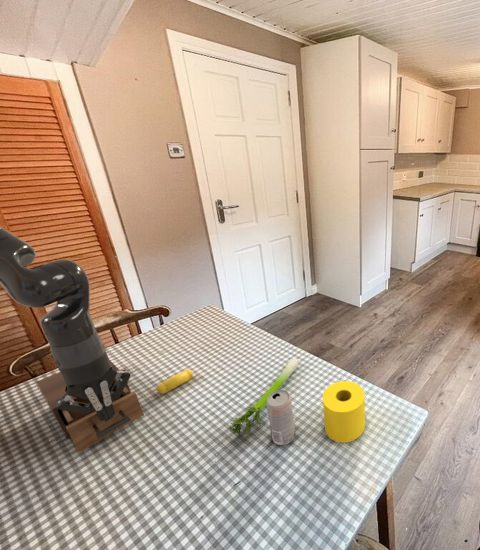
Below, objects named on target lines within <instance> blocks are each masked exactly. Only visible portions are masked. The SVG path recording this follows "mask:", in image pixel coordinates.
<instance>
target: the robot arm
mask: <svg viewBox="0 0 480 550" xmlns="http://www.w3.org/2000/svg"><path fill="white" fill-rule="evenodd" d="M36 256H37V252H36V250H35V248H34V247H33V246H31V245H30V244H29V243H28V242H26V241H25V240H23V239H21V238H20V237H18V236H17V235H15V234H14V233H12V232H10V231H9V230H7V229H5V228H4V227H2V226H1V225H0V286H1V287H2V288H3V289H4V291H5V292H6V293H7V294H8V295H9V298H11V299H12V300H13V301H15V302H16V303H17V304H19V305H22V306H24V307H29V308H35V309H38V308H39V309H40V308H45V307H47V306H50V305H52V304H54V303H55V306H54V307H53V308H52V309H51V310H49V312H47V313H46V314H45V315H43V316H42V317H41V318H40V327H41V329H42V332H43V334H44V337H45V338H46V340H47V342H48V344H49V347H50V351H51V355H52V358H53V360H54V363H55V365H56V366H57V368H58V370H59V373H61V375H62V377H63V379H64V381H65V383H66V388H65V392H66V394H65V395H64V396H63V397H62V398H61V399H58V400H56V402H55V403H56V405H57V407H58V408H59V409H60V410H66V411H71V412H77V413H82V414H88V413H90V412H91V411H96V414H97V416H98V418H99V419H100V420H101V421H103V420H105V422H106V421H108V420H109V419H112V418H113V415H114V414H115V410H114V407H113V405H112V402H113V401H114V400H115V399H118V398H119V397H120V396H121V394H122V392H123V390H124V388H125V386H126V384H127V383H128V382H129V380H130V378H131V375H132V374H131V373H130V372H129V371H128V370H127V369H121V370H120V371H117V370H116V369H115V368H113V367H112V366H111V363H110V361H111V360H110V358H109V355H108V353H107V350H106V346H105V344H104V342H103V339H102V338H101V336H100V335H99V333H98V332H97V329H96V326H95V324H94V321H93V319H92V316H91V314H90V313H91V312H90V309H91V308H90V305H91V303H90V301H91V300H90V295H91V294H90V279H89V276H88V274H87V272H86V271H85V269H84V268H83V267H82V266H81V265H80V264H79V263H77V262H75V261H74V260H71V259H65V258H61V259H56V260H52V261H49V262H45V263H42V264H40V265H36V266H33V267H29V266H30V265H31V264H32V263H33V262H34V261H35V259H36ZM28 267H29V268H28ZM109 360H110V361H109ZM115 377H116V382H115V384H114V386H113V388H112V390H111V392H109V389H110V387H111V386H112V384H113V381H114V379H115ZM98 395H100V397H101V401H102V402H103V403H102V404H101V403H100V402H99V400H98V398H97V396H98ZM71 397H76V398H80V399H84V400H87V399H89V401H90V403H89V404H86V403H81V402H76V401H74V400H73V398H71Z"/></svg>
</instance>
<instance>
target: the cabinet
mask: <svg viewBox="0 0 480 550" xmlns="http://www.w3.org/2000/svg"><path fill="white" fill-rule="evenodd" d="M109 361H110V363H111V366H112V367H113V368H115V369H116V370H117V371H121V370H120V368H118V367H117V366H116V364H115V363H114V362H113V361H111V359H109ZM115 382H116V377H115V379H114V381H113V383H115ZM36 384H37V386H38V388H39V390H40V392H41V394H42V396H43V397H44V399H45V402H46V404H47V405H48V407H49V409H50V411H51V413H52V414H53V417H54V418H55V420H56V422H57V423H58V426H59V427H60V429H61V431H62V433H63V435H64V436H65V439H68V438H71V436H70V435H69V433H68V431H67V429H66V426H68V424H67V422H66V420H65V418H64V416H63V414H62V412H61V410H60V409H59V408H58V407H57V405H56V403H55V402H56V400H58V399H61V398H62V397H63V396H64V395H65V394H66V392H65V388H66V383H65V381H64V379H63V377H62V375H61V373H60V372H58V373H54V374H53V375H50V376H48V377H45V378H43V379H40V380H39V381H36ZM125 387H126V388H127V390H128V391H129V392H130V393H132V391H131V387H130V386H129V384H128V382H127V384H126V386H125ZM71 398H73V400H74V401H78V400H80V398H76V397H71Z"/></svg>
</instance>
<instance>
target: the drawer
mask: <svg viewBox="0 0 480 550" xmlns="http://www.w3.org/2000/svg"><path fill="white" fill-rule="evenodd" d="M114 384H115V383H113V384H112V386H111V387H110V389H109V392H111V390H112V388H113V386H114ZM97 398H98V400H99V402H100V403H101V404H102V403H103V402H102V401H101V397H100V395H98V396H97ZM76 402H81V403H86V404H89V403H90V401H89V399H87V400H84V399H80V400H78V401H76ZM112 405H113V407H114V410H115V414H114V415H113V418H112V419H109V420H108V421H106V422H105V420H103V421H101V420H100V419H99V418H98V416H97V414H96V411H91V412H90V413H88V414H82V413H77V412H71V411H66V410H61V412H62V414H63V416H64V418H65V420H66V422H67V424H68V426H66V429H67V431H68V433H69V435H70V438H71V441H72V442H73V444H74V447H75V448H76V450H77V452H78V453H81V452H83V451H85V450H87V449H88V448H90V447H92V446H93V445H95V444H97V443H99V442H101V441H102V440H104V439H105V438H108V437H109V436H111V435H112V434H114V433H116V432H118V431H120V430H121V429H123V428H125V427H126V426H128V425H130V424H132V423H133V422H135V421H137V420H139V419H141V418H142V417H144V416H145V413H144V411H143V407H142V406H141V405H142V404H141V402H140V400H139V398H138V395H137V392H136V391H131V393H130V392H129V391H128V390H127V388H126V387H125V388H124V390H123V392H122V394H121V396H120V397H119V398H118V399H115V400H114V401H113V402H112Z"/></svg>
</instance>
